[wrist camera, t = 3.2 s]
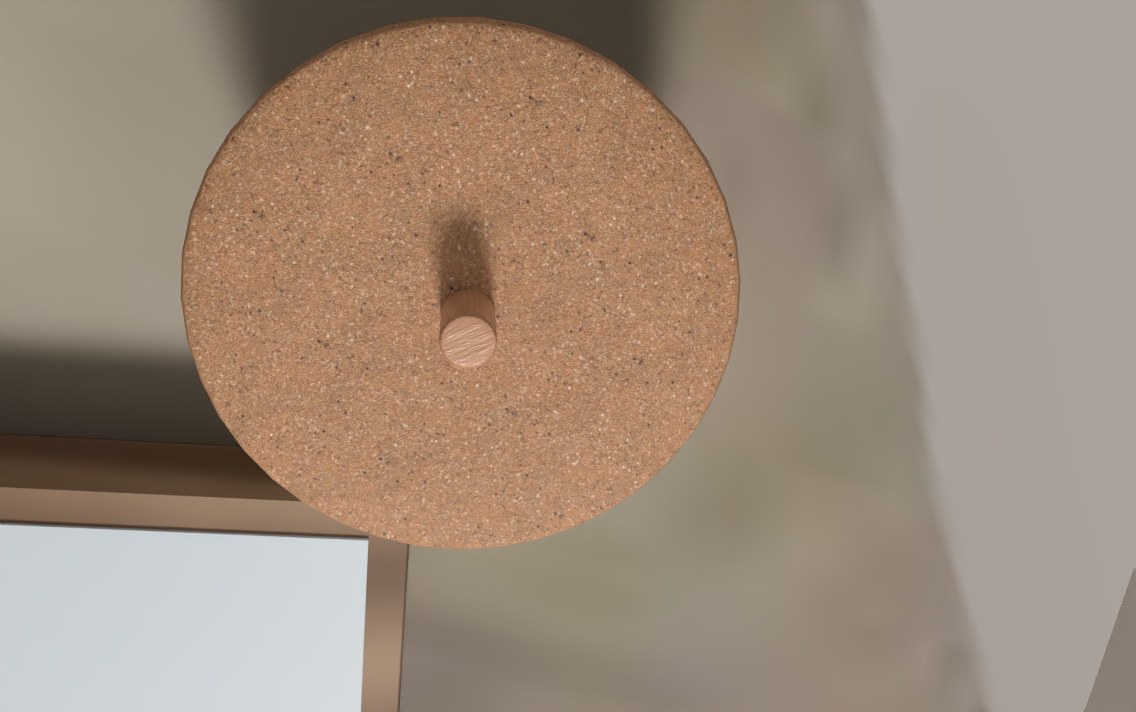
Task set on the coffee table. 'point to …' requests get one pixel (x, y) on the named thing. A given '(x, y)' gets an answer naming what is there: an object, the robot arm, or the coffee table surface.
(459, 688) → the coffee table surface
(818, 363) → the coffee table surface
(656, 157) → the lidded jar
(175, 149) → the coffee table surface
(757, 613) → the coffee table surface
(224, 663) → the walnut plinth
